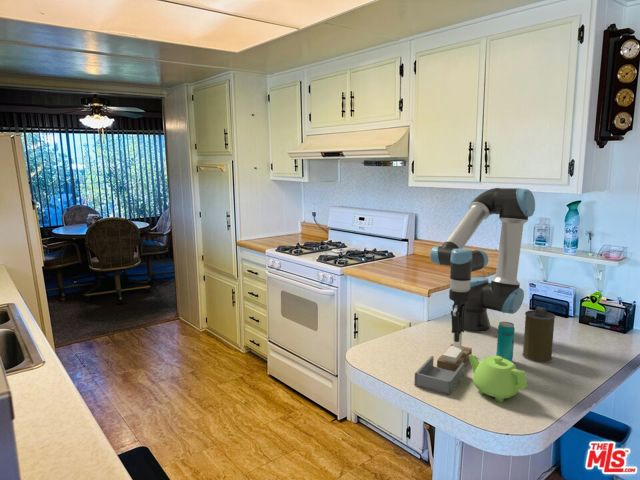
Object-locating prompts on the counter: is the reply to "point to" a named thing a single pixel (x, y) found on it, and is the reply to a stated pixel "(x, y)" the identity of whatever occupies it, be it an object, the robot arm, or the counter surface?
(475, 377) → the teapot
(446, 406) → the counter surface
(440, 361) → the walnut board
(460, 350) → the tile
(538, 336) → the canister
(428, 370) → the tray
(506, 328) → the beverage can
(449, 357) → the tile
